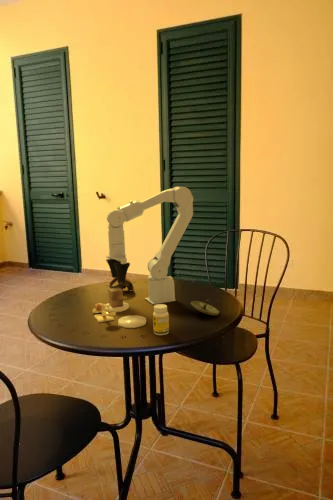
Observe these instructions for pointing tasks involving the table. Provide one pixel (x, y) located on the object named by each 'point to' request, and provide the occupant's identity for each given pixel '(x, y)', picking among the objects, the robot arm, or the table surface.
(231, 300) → the table surface
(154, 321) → the supplement bottle
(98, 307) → the balance
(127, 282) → the brown segmented ring
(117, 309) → the dish low side
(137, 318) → the cream round disc
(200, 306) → the lid
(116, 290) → the block
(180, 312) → the table surface
